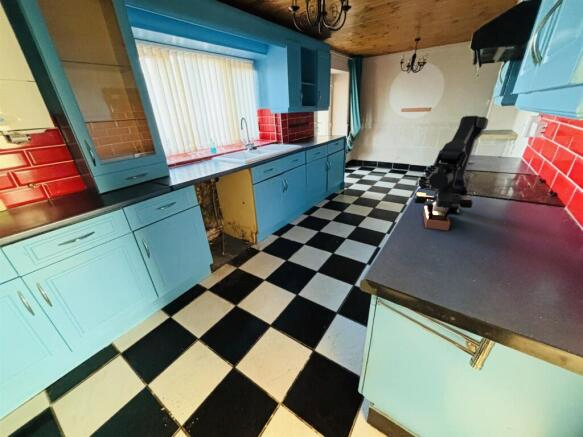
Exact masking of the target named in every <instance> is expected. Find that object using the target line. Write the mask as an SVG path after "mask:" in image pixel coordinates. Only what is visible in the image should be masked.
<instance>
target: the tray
mask: <svg viewBox="0 0 583 437" xmlns="http://www.w3.org/2000/svg"><path fill="white" fill-rule="evenodd" d="M423 208H424V209H423V212H422V214H423V221H424V228H426V229H431V230H441V231H449V229H450V225H451V220H450V218H449V215H448V216H447V218H446V219H445V220H444V221H438V220H430V214H429V209H428V206H425V205H424V207H423ZM442 212H445V208H443V211H442Z"/></svg>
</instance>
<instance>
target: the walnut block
mask: <svg viewBox="0 0 583 437" xmlns="http://www.w3.org/2000/svg"><path fill="white" fill-rule="evenodd" d="M444 218H445V214H444V212H441V211H433V214H432V219H430V220H438V221H444Z"/></svg>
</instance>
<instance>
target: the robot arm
mask: <svg viewBox="0 0 583 437" xmlns="http://www.w3.org/2000/svg"><path fill="white" fill-rule="evenodd" d="M488 124H489V119H488V118H487V117H486V116H480V115H465V116H462V117H461V118H460V121H459V124H458V128H457V130H456V132H455V133H454V136H452V139H451V141H449V142H446V143H445V144H444V145H443V147H442V148H441V149H440V150H439V151H438V155H437V156H436V159H435V162H434V165H433V168H437V171H435V172H434V173H432V175H430V177H429V179H428V182H429V185H430V186H431V187H432V188H433V189H434V192H433V196H432V195H427V193H426V192H419V191H417V192H415V193H414V194H413V203H415V204H420V205H424V207H425V206H428V209H429V214H430V219H432V214H433V203H434V202H436V206H437V207H443V208H445V212H444V214H445V218H444V220H445V219H446V218H447V216H448V217H449V215H451V214H457V215H458V214H460V211H459V208H460V207H461V208H465V209H471V208H472V207H473V203H474V201H473V199H472V198H471V197H470V196H469V195H468V188H467V181H466V177H465V175H466V171H467V168H468V166H469V162H470V159H471V157H472V156H471V155H472V153H473V150H474V146H475V143H476V141H477V140H478V139H479V138H480V137H481V136H482V135H483V133H484V131H485V130H486V129H487V128H488Z"/></svg>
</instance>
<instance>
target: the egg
mask: <svg viewBox="0 0 583 437" xmlns="http://www.w3.org/2000/svg"><path fill="white" fill-rule="evenodd" d="M433 211H441V212H442V211H443V207H437V206H436V202H435V201H433Z"/></svg>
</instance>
